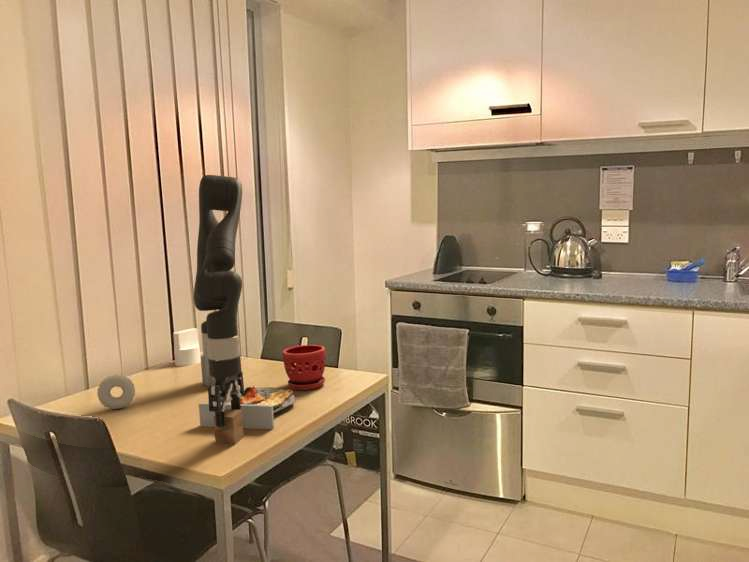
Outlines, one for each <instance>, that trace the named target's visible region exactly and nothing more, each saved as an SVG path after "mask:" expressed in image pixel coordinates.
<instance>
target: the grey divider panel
mask: <svg viewBox="0 0 749 562" xmlns="http://www.w3.org/2000/svg"><path fill="white" fill-rule="evenodd" d="M221 405H222V403H221ZM213 406H214V403H213ZM225 409H231V404H226V406H225ZM241 410H242V421H243V429H256V430H257V429H258V430H274V429H275V420H274V419H275V418H274V413H273V405H251V404H241ZM198 412H199V413H198V414H199V426H200V427H213V428H214V416H215V412H210V411H209V403H208V402H199V403H198Z"/></svg>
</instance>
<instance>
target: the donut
mask: <svg viewBox="0 0 749 562" xmlns="http://www.w3.org/2000/svg"><path fill="white" fill-rule="evenodd" d="M116 387H117V388H120V389H121V390H122V393H121V394H120V395H119V396H113V395H112V394H111V390H112V389H113V388H116ZM135 395H136V388H135V384H134V383H133V381H132V380H131V379H130V378H128V377H127V376H125V375H122V374H113V375H110V376H109V375H108V377H106V378H105V379H103V380H102V381H101V382H100V384H99V386H98V387H97V397H98V400H99V402H100V403H101V405H102V406H104V407H105V408H108V409H110V410H119V409H122V408H123V409H124V408H125V407H126V406H128V405H130V403H132V401H133V399H134V397H135Z"/></svg>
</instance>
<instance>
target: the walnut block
mask: <svg viewBox="0 0 749 562" xmlns="http://www.w3.org/2000/svg"><path fill="white" fill-rule="evenodd" d="M224 411H225V418H226V425H225V426H224V427H217V426H216V419H215V416H214V427H213V428H214V439H215V443H214V444H215V445H224V446H236V445H237V444H238V443H239V442H240V441H241V440H242V439H244V437H245V436H244V428H243V421H242V410H233V409H225V410H224Z"/></svg>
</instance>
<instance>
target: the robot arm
mask: <svg viewBox="0 0 749 562" xmlns="http://www.w3.org/2000/svg"><path fill="white" fill-rule="evenodd" d="M242 201H243V185H242V182H241V180H240V178H238V177H233V176H226V175H225V176H224V175H218V174H205V175H203V176H202V177H201V179H200V183H199V186H198V209H199V210H198V213H199V214H198V215H199V216H198V217H199V218H198V219H199V224H198V232H197V233H198V236H197V247H196V249H197V250H196V273H195V274H196V275H195V281H194V287H193V304H194V306H195V308H196V309H197V310H198V311H200V312H208V311H212V312H210V313H207V315H206V318H205V319H206V320H205V321H203V322H202V323H201V325H200V332H201V333H200V334H201V343H202V344H201V345H202V354H201V355H200V360H201V362H200V367H201V379H202V380H201V381H202V385H203V386H205V387H207V392H208V402H209V411H210V412H215V419H216V426H217V427H224V426H225V425H226V418H225V411H224V410H225V406H226V403H227V402H228V401H229V397H230V398H231V409H233V410H241V404H240V399H241V394H244V390H245V385H244V384H245V383H244V377H243V375H244V373H243V371H242V359H241V346H240V339H239V335H238V334H239V333H238V307H239V301H240V298H241V294H242V289H243V280H242V277H241V276H240V274H239V273H238V272H237V271H234V270H232V269H233V268H234V267H235V262H236V237H237V231H238V227H239V222H240V216H241V211H242V210H241V209H242ZM213 211H221V212H226V214H225V216H224V217H223V218H222V219H221V221H218V220H217V218H216V215H215V214H214V212H213ZM213 402H214V406H213ZM221 402H222V405H221Z"/></svg>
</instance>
